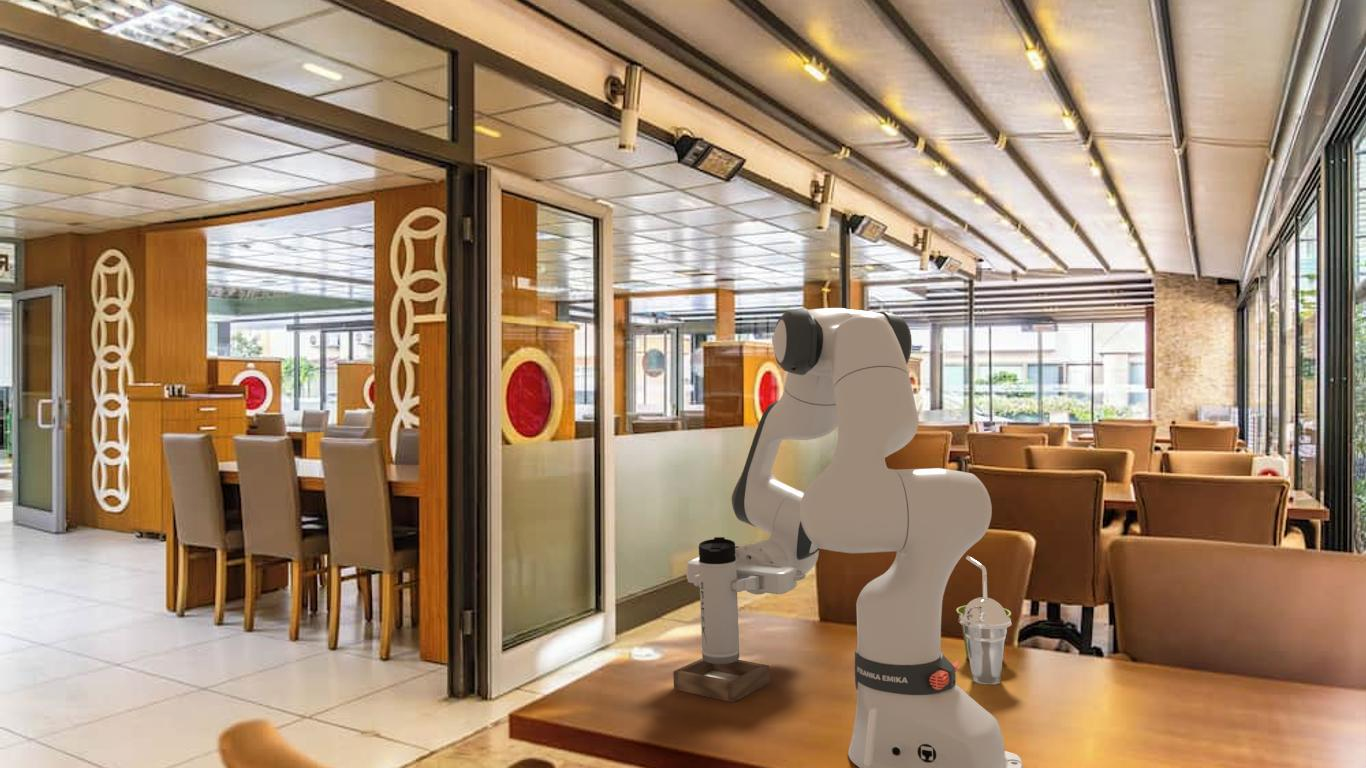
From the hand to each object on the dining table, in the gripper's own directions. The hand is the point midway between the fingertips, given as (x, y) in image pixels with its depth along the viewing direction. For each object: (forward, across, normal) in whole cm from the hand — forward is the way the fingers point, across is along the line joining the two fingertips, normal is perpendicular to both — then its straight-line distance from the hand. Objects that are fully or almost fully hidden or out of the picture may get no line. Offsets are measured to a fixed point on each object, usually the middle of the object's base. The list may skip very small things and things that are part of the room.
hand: (715, 584), depth 156 cm
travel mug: (-1, 0, -13) cm, 13 cm away
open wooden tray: (-1, 0, -17) cm, 17 cm away
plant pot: (-38, -32, -18) cm, 53 cm away
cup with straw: (-26, -36, -18) cm, 48 cm away
